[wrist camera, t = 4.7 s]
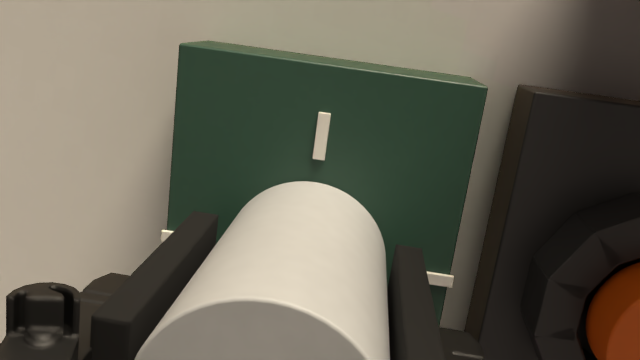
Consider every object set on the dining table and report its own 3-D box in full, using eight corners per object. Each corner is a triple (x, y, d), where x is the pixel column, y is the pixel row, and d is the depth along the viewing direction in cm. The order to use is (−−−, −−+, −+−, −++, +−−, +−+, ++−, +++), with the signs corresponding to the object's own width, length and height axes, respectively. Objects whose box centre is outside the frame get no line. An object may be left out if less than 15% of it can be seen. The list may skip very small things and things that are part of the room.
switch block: (798, 123, 19) (905, 148, 15) (689, 437, 22) (755, 523, 18) (517, 83, 20) (552, 98, 16) (449, 396, 23) (464, 472, 19)
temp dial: (235, 168, 18) (124, 282, 10) (398, 195, 18) (418, 334, 10) (219, 315, 19) (109, 520, 11) (371, 342, 19) (368, 571, 11)
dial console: (475, 77, 20) (493, 87, 17) (413, 390, 23) (419, 447, 20) (203, 39, 20) (173, 42, 17) (179, 351, 23) (150, 400, 20)
